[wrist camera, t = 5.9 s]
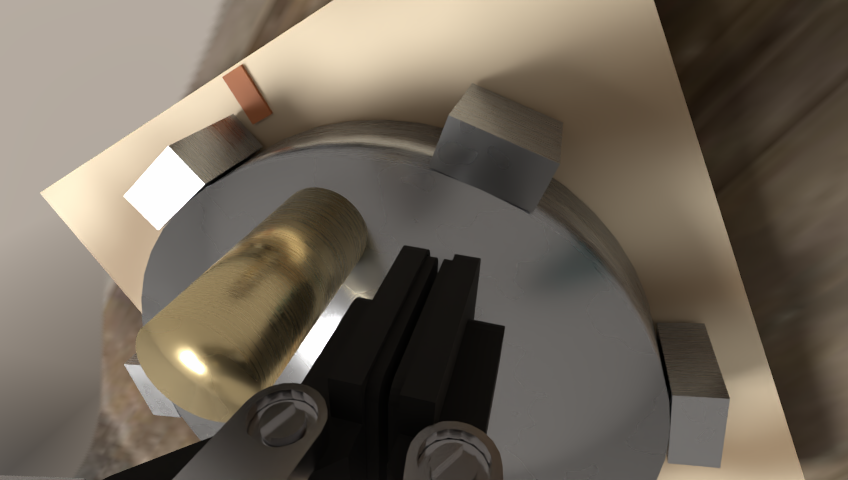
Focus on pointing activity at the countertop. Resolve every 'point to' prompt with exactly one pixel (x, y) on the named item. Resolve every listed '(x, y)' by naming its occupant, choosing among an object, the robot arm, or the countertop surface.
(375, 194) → the tabbed metal disc
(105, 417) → the countertop surface
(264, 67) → the nut base
